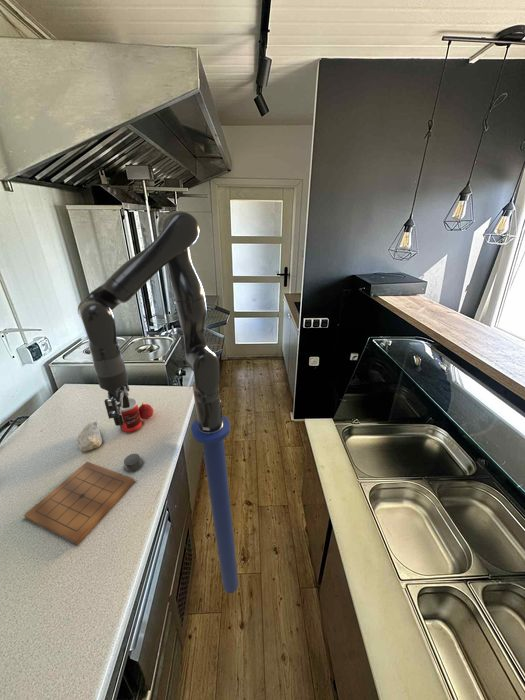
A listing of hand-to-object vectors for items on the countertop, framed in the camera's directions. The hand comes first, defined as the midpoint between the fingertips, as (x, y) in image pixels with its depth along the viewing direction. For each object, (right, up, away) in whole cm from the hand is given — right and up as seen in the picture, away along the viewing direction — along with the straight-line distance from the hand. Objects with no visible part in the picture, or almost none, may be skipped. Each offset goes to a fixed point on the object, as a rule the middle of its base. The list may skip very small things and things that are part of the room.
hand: (123, 415), depth 87 cm
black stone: (-1, -19, +8) cm, 21 cm away
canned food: (-9, -10, +26) cm, 29 cm away
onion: (-5, -8, +30) cm, 31 cm away
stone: (-21, -14, +19) cm, 32 cm away
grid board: (-11, -24, -3) cm, 27 cm away
